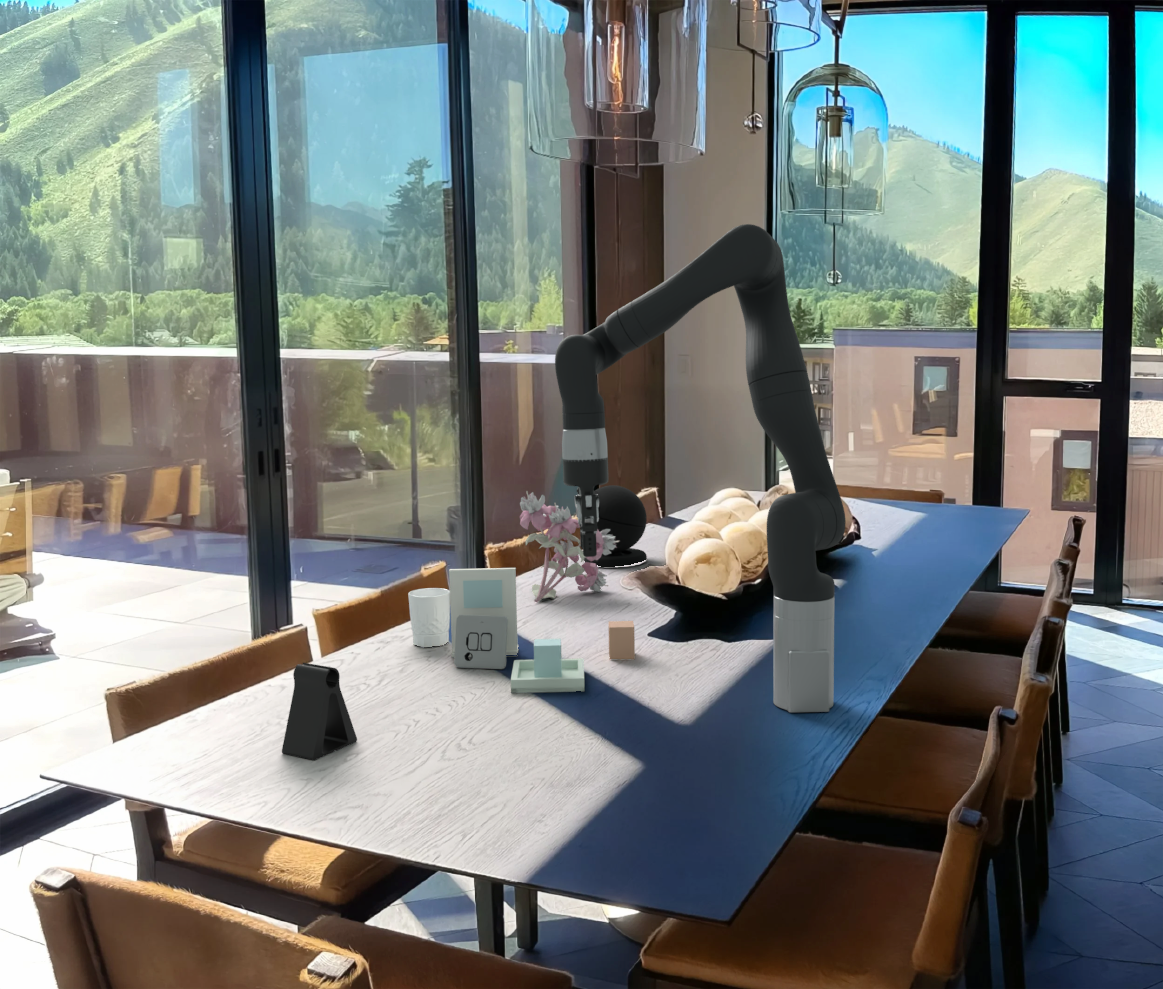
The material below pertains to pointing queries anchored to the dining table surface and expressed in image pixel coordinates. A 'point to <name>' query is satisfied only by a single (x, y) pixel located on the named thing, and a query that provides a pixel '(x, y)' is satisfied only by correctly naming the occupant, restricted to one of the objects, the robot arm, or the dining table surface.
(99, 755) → the dining table surface
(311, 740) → the black triangular stand
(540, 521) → the flower
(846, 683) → the dining table surface
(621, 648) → the terracotta block
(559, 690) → the tray
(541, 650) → the blue block
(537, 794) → the dining table surface
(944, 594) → the dining table surface
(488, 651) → the electrical switch
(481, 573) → the placard
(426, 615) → the white cup
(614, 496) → the webcam
